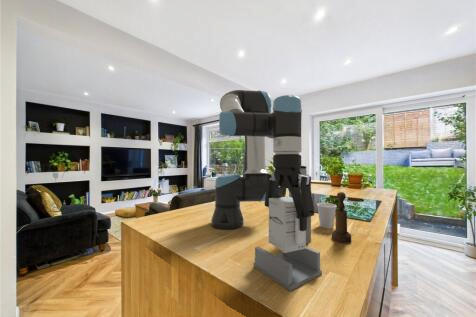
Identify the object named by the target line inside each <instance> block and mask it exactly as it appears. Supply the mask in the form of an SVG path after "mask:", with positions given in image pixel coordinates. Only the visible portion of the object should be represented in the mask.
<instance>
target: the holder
mask: <svg viewBox="0 0 476 317" xmlns="http://www.w3.org/2000/svg"><path fill="white" fill-rule="evenodd" d="M253 267H254V268H255V269H257V270H258V271H260V272H261V273H262V274H264V275H265V276H267V277H268V278H270V279H272V280H273V281H275V282H276V283H277V284H279V285H280V286H282V287H283V288H284V289H286V290H288V291H289V292H292V291H294V290H295V289H298V288H300V287H301V286H303V285H304V284H306V283H308V282H310V281H312V280H314V279H316V278H317V277H319V276H322V274H323V270H322V269H321V252H320V251H318V250H316V249H314V248H310V247H308V246H306V248H305V249H301V250H296V251H292V252H287V253H284V252H280V253H277V254H273V253H271V252H270V251H267V250H266V249H264V248H262V247H260V246H256V247H254V262H253Z"/></svg>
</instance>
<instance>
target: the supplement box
mask: <svg viewBox="0 0 476 317" xmlns="http://www.w3.org/2000/svg"><path fill="white" fill-rule="evenodd" d="M297 216H298V214H297V211H296V208H295V205H294V202H293V199H292V198H291V197H289V196H281V197H279V198H269V208H268V243H269V244H270V245H272V246H274V247H276V248H277V249H278V250H279V251H281V253H283V252H284V253H287V252H292V251H296V250H301V249H305V248H306V247H307V243H306V231H305V242H303V243H300V244H296V243H295V217H297Z"/></svg>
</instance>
